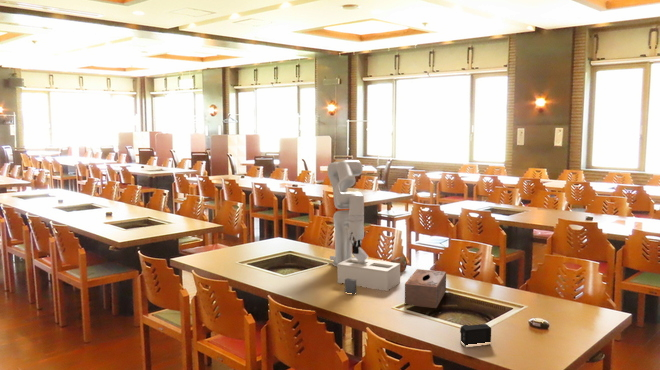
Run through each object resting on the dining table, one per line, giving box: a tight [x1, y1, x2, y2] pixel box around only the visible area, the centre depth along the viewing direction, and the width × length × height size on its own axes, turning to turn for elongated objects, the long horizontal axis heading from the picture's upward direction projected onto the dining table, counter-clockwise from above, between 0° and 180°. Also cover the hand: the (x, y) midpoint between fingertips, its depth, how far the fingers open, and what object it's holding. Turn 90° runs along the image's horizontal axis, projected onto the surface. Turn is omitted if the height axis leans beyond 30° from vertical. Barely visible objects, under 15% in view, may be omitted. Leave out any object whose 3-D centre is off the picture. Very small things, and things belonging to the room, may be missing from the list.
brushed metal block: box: [344, 278, 357, 295], centre depth 270 cm, size 5×2×7 cm, turn 60°
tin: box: [390, 256, 408, 274], centre depth 305 cm, size 15×3×8 cm, turn 143°
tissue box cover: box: [404, 268, 447, 309], centre depth 263 cm, size 26×14×10 cm, turn 159°
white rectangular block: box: [337, 256, 401, 292], centre depth 287 cm, size 28×16×10 cm, turn 60°
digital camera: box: [459, 323, 492, 345], centre depth 210 cm, size 10×5×7 cm, turn 102°
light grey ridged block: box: [352, 246, 370, 264], centre depth 288 cm, size 5×2×7 cm
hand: (356, 252), depth 289 cm, fingers closed on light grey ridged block, 2 cm apart
